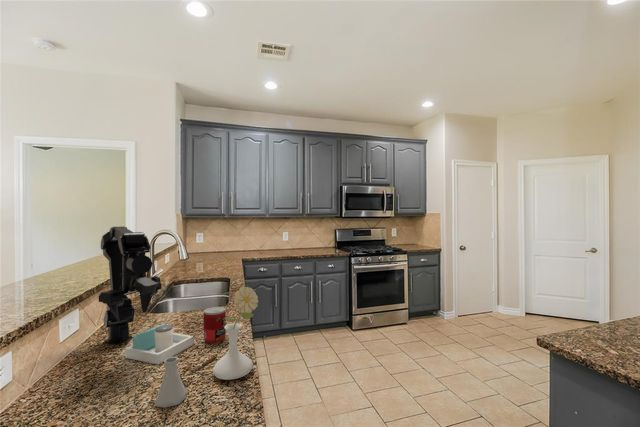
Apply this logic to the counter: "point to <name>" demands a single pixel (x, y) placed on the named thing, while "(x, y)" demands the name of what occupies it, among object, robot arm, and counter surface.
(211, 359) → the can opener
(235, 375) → the flower in vase
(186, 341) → the lane
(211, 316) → the canned food
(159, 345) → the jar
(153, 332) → the pusher
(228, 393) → the counter surface
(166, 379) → the flask
